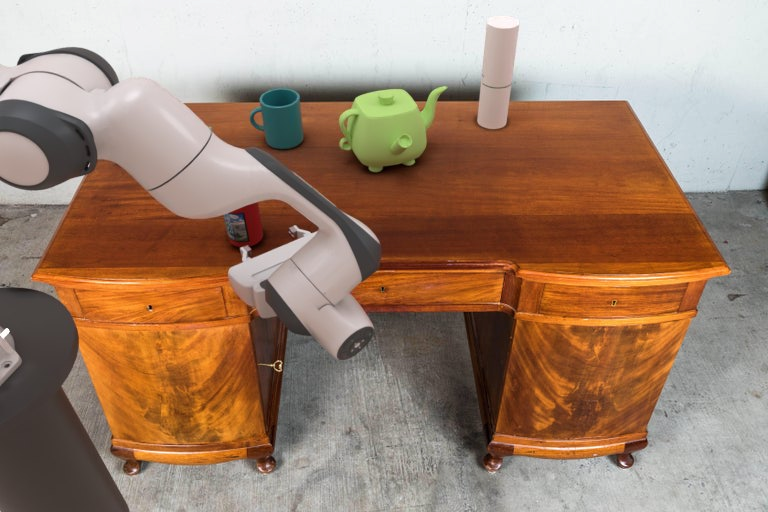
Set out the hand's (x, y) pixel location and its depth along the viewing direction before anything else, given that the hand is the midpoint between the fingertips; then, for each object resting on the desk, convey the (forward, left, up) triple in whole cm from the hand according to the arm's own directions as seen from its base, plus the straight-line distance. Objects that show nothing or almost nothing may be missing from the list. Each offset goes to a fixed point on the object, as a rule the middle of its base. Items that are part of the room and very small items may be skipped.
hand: (268, 239), depth 116 cm
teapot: (+40, -18, -8) cm, 44 cm away
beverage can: (+9, +8, -8) cm, 15 cm away
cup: (+45, +11, -8) cm, 47 cm away
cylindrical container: (+60, -39, -8) cm, 72 cm away
